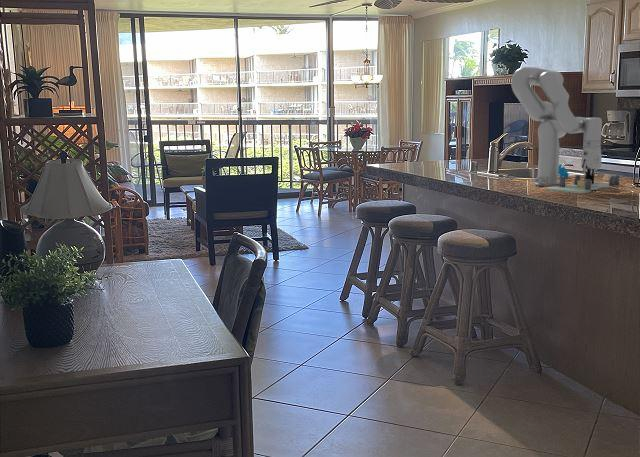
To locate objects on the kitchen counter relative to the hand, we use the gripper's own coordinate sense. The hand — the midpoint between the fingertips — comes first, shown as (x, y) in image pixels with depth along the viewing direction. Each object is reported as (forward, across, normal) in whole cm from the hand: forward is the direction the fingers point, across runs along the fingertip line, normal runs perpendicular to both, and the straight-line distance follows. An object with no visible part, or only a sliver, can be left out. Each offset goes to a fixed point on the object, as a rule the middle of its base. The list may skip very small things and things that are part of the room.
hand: (589, 183), depth 320 cm
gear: (+2, +27, +32) cm, 42 cm away
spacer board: (+2, -3, +1) cm, 4 cm away
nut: (+1, -5, 0) cm, 5 cm away
